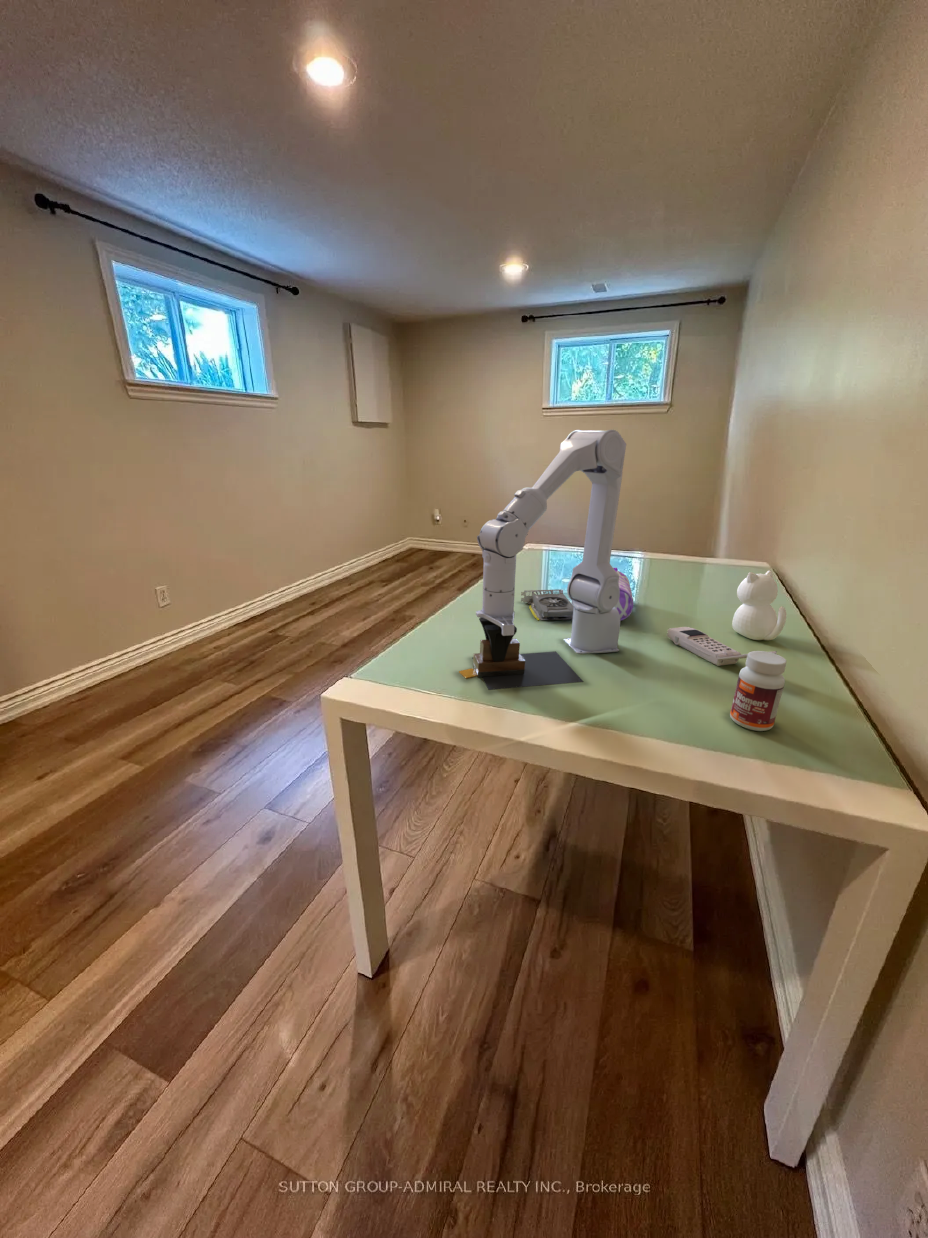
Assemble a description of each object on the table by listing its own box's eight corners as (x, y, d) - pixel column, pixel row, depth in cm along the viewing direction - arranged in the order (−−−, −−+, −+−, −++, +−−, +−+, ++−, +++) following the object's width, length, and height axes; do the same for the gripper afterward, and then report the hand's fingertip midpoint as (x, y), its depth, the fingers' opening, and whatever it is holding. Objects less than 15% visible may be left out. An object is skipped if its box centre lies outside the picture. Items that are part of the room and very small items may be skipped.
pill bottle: (725, 722, 78) (739, 657, 74) (734, 707, 82) (748, 645, 78) (769, 737, 74) (786, 669, 70) (776, 720, 79) (793, 656, 75)
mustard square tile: (472, 670, 94) (472, 667, 94) (480, 677, 92) (480, 674, 92) (458, 673, 93) (458, 671, 93) (465, 680, 91) (466, 677, 90)
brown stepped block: (517, 664, 96) (519, 636, 94) (524, 674, 92) (526, 645, 90) (472, 666, 95) (474, 637, 93) (477, 677, 91) (479, 647, 89)
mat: (555, 653, 103) (555, 651, 103) (583, 683, 90) (583, 681, 90) (472, 659, 99) (472, 657, 99) (488, 691, 87) (488, 689, 86)
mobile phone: (754, 655, 88) (661, 611, 110) (747, 684, 90) (657, 635, 112) (780, 652, 90) (683, 609, 112) (772, 681, 92) (679, 633, 114)
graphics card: (520, 589, 135) (563, 588, 135) (520, 602, 136) (562, 600, 137) (532, 610, 119) (581, 608, 120) (532, 624, 120) (580, 622, 121)
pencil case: (594, 596, 141) (597, 564, 137) (627, 599, 139) (632, 567, 135) (595, 622, 120) (599, 585, 117) (634, 626, 118) (640, 588, 115)
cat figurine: (746, 625, 120) (759, 565, 115) (794, 644, 109) (811, 578, 104) (718, 629, 117) (730, 568, 112) (764, 649, 106) (781, 582, 101)
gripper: (468, 578, 94) (467, 643, 98) (486, 601, 80) (484, 675, 85) (504, 577, 95) (501, 641, 100) (527, 599, 82) (523, 672, 86)
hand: (496, 657), depth 92 cm, fingers closed on brown stepped block, 2 cm apart
